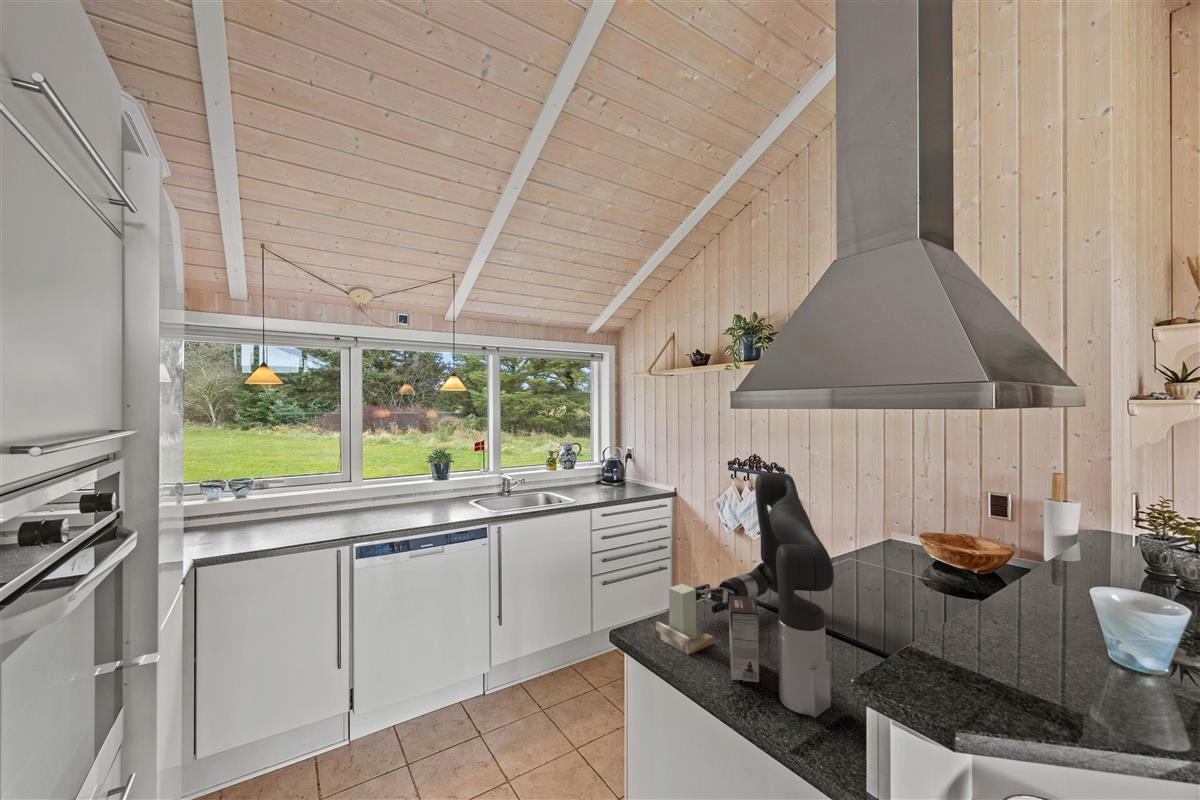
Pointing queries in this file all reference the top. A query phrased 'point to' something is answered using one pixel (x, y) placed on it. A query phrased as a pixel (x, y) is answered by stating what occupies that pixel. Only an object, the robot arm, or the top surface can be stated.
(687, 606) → the sage block
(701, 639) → the wooden lane
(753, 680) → the coffee box
